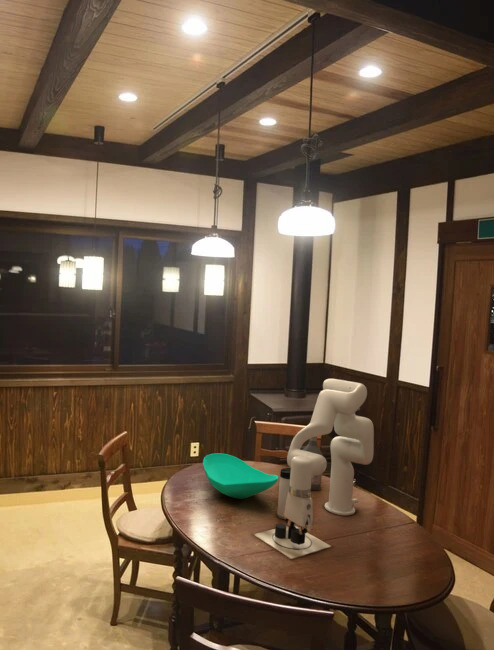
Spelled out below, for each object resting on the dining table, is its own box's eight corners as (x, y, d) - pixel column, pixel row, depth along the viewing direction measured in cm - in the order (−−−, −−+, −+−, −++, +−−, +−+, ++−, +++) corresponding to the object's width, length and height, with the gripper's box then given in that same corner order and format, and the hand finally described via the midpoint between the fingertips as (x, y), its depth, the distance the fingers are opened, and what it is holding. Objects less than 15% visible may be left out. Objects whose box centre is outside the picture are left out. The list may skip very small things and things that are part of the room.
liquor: (321, 490, 251) (326, 428, 249) (302, 489, 251) (306, 426, 249) (316, 483, 260) (321, 423, 258) (298, 482, 260) (302, 421, 259)
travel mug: (293, 520, 216) (297, 472, 215) (276, 518, 218) (280, 470, 216) (293, 514, 222) (296, 467, 221) (277, 512, 224) (280, 465, 223)
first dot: (280, 533, 204) (281, 522, 203) (287, 537, 200) (288, 527, 200) (272, 535, 202) (273, 524, 201) (279, 539, 198) (280, 529, 198)
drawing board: (292, 524, 213) (292, 523, 213) (331, 547, 196) (331, 545, 196) (253, 535, 202) (253, 533, 202) (291, 559, 185) (291, 558, 185)
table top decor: (292, 505, 232) (294, 475, 231) (245, 518, 216) (247, 486, 215) (231, 476, 264) (233, 449, 263) (186, 485, 248) (188, 457, 247)
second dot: (296, 537, 197) (296, 527, 197) (304, 542, 194) (304, 531, 193) (288, 539, 195) (288, 529, 195) (296, 544, 191) (296, 533, 191)
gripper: (324, 498, 188) (320, 548, 189) (290, 482, 202) (287, 529, 203) (309, 501, 184) (305, 553, 185) (276, 485, 198) (272, 533, 199)
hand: (296, 540), depth 194 cm, fingers closed on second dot, 4 cm apart
